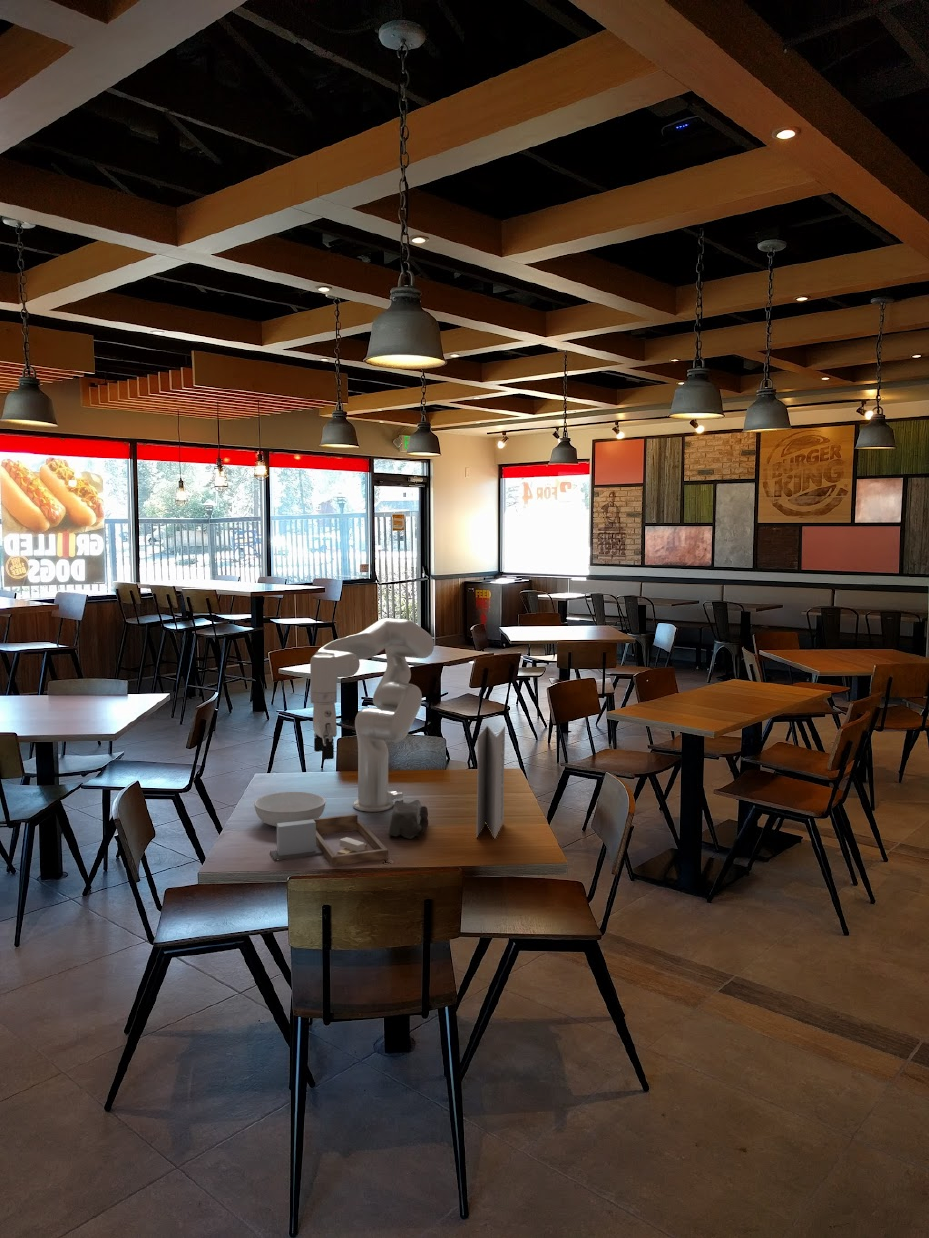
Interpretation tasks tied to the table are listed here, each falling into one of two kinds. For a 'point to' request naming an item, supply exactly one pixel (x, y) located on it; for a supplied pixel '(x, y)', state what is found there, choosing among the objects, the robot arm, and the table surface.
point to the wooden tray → (343, 825)
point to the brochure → (490, 780)
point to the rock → (408, 819)
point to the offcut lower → (346, 851)
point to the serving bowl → (289, 807)
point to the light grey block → (296, 837)
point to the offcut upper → (352, 844)
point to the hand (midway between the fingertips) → (323, 754)
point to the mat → (306, 854)
